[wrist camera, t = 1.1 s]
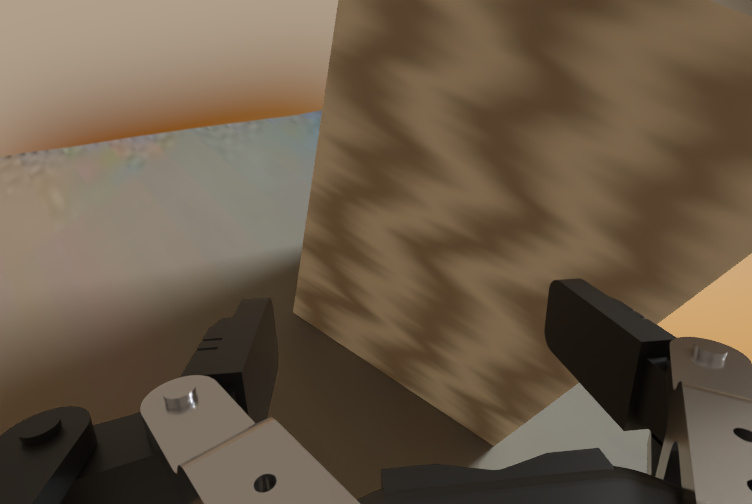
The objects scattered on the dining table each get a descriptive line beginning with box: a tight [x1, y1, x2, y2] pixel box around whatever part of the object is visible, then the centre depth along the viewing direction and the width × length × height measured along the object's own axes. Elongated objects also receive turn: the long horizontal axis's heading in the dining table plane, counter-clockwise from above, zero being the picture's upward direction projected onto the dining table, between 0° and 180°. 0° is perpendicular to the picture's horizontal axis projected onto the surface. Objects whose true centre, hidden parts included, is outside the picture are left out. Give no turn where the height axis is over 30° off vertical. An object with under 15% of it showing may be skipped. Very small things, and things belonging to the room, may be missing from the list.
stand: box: [293, 0, 752, 446], centre depth 27 cm, size 22×14×34 cm, turn 59°
